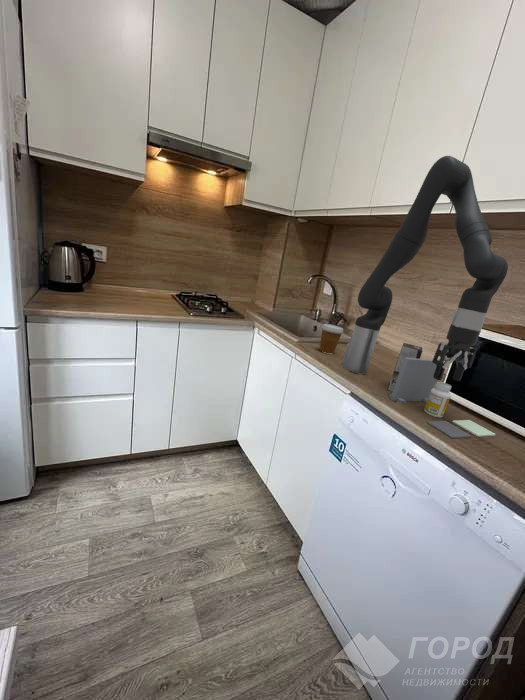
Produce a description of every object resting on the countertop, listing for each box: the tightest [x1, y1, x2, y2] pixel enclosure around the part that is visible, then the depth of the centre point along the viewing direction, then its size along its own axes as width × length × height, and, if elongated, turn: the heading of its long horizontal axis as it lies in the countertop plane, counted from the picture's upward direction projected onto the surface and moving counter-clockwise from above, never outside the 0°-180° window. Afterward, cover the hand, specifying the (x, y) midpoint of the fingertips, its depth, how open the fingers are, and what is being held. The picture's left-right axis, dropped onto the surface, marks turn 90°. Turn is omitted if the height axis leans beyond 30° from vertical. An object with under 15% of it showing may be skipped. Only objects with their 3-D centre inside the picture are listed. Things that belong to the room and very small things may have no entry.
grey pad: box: [426, 420, 473, 440], centre depth 90 cm, size 8×8×1 cm
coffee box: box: [387, 342, 423, 392], centre depth 114 cm, size 9×6×16 cm
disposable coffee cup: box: [319, 323, 344, 353], centre depth 147 cm, size 10×10×12 cm
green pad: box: [451, 419, 497, 437], centre depth 95 cm, size 8×8×1 cm
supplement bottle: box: [423, 381, 452, 418], centre depth 99 cm, size 5×5×10 cm
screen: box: [388, 358, 437, 405], centre depth 106 cm, size 5×16×14 cm, turn 114°
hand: (446, 379), depth 97 cm, fingers open, 8 cm apart
